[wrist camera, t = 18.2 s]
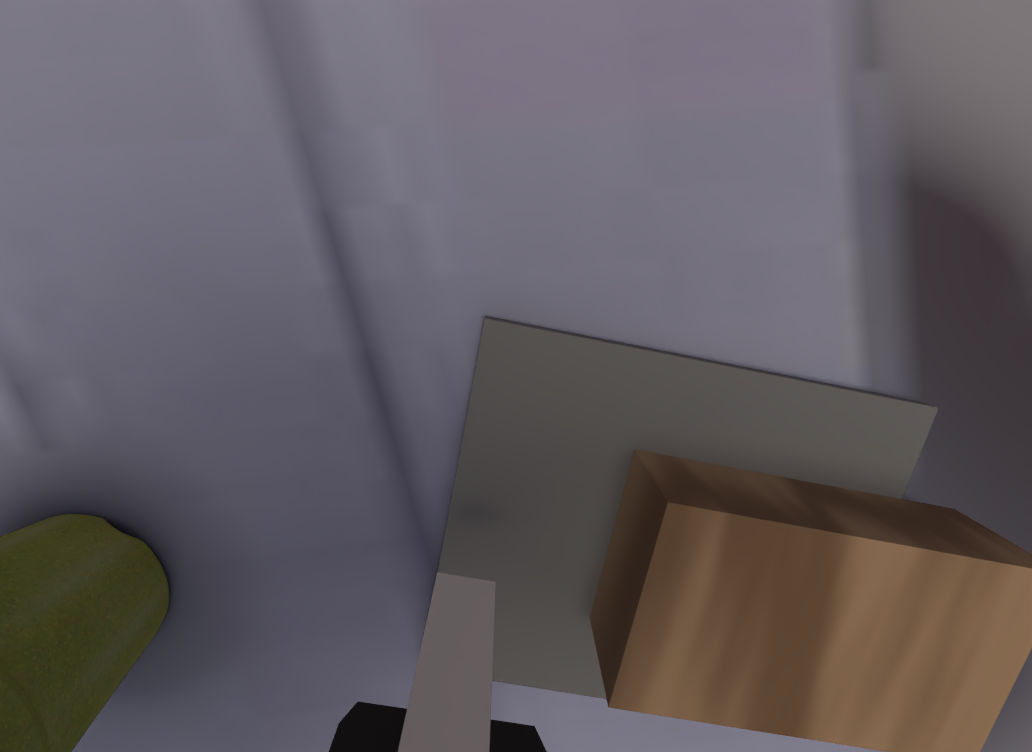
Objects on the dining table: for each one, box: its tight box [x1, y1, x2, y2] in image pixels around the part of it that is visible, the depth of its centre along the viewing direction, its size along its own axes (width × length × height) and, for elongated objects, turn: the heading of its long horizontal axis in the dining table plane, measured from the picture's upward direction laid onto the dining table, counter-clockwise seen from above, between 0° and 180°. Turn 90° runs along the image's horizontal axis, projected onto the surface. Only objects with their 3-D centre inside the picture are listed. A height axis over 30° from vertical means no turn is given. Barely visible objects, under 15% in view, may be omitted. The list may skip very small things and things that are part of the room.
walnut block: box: [590, 449, 1032, 752], centre depth 18 cm, size 4×7×12 cm
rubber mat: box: [438, 316, 938, 699], centre depth 20 cm, size 16×14×1 cm
